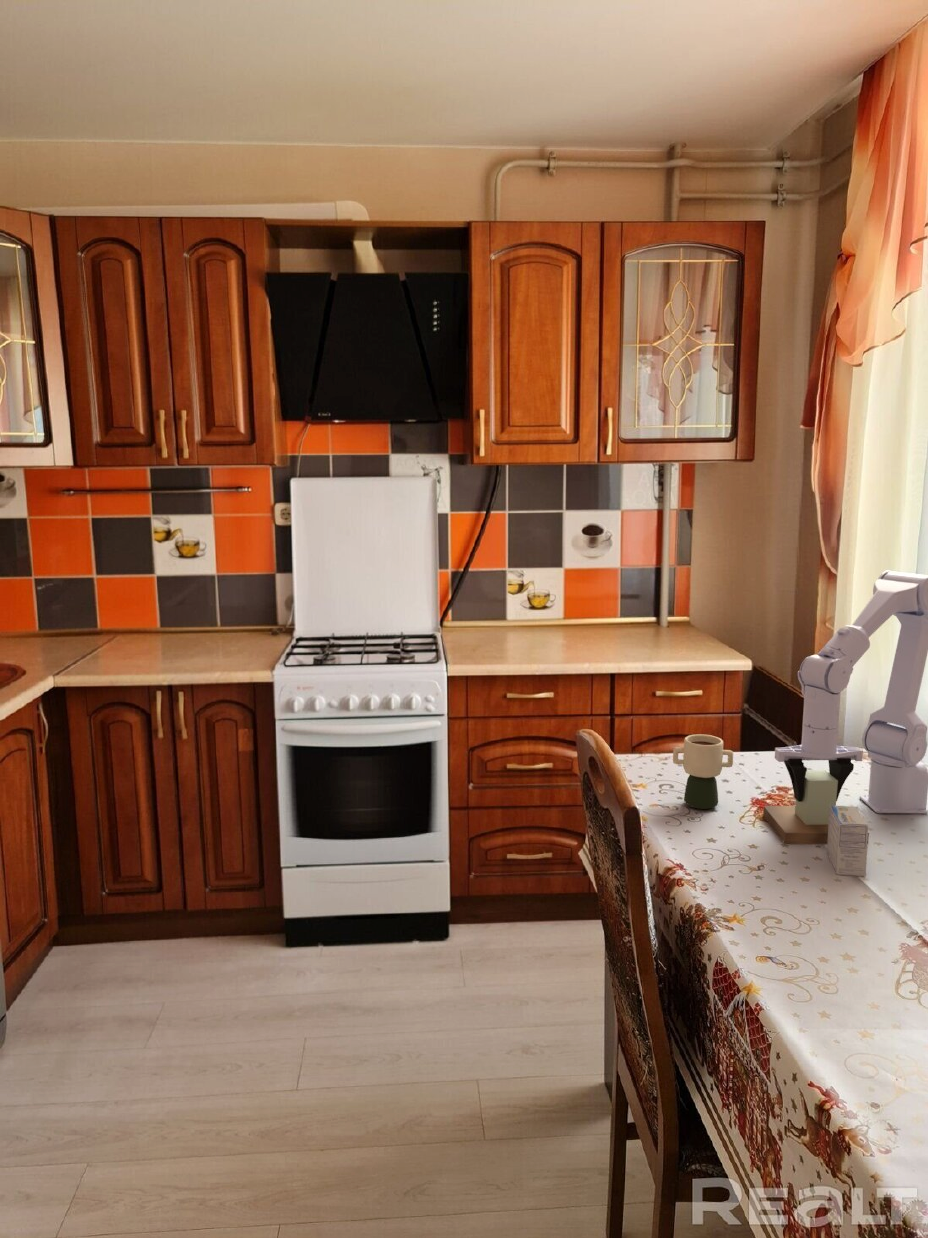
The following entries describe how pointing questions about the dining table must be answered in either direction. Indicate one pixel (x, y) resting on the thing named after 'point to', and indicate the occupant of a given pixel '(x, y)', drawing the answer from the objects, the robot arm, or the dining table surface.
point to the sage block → (817, 798)
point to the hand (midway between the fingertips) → (815, 799)
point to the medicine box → (847, 840)
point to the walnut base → (794, 826)
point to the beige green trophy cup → (702, 768)
